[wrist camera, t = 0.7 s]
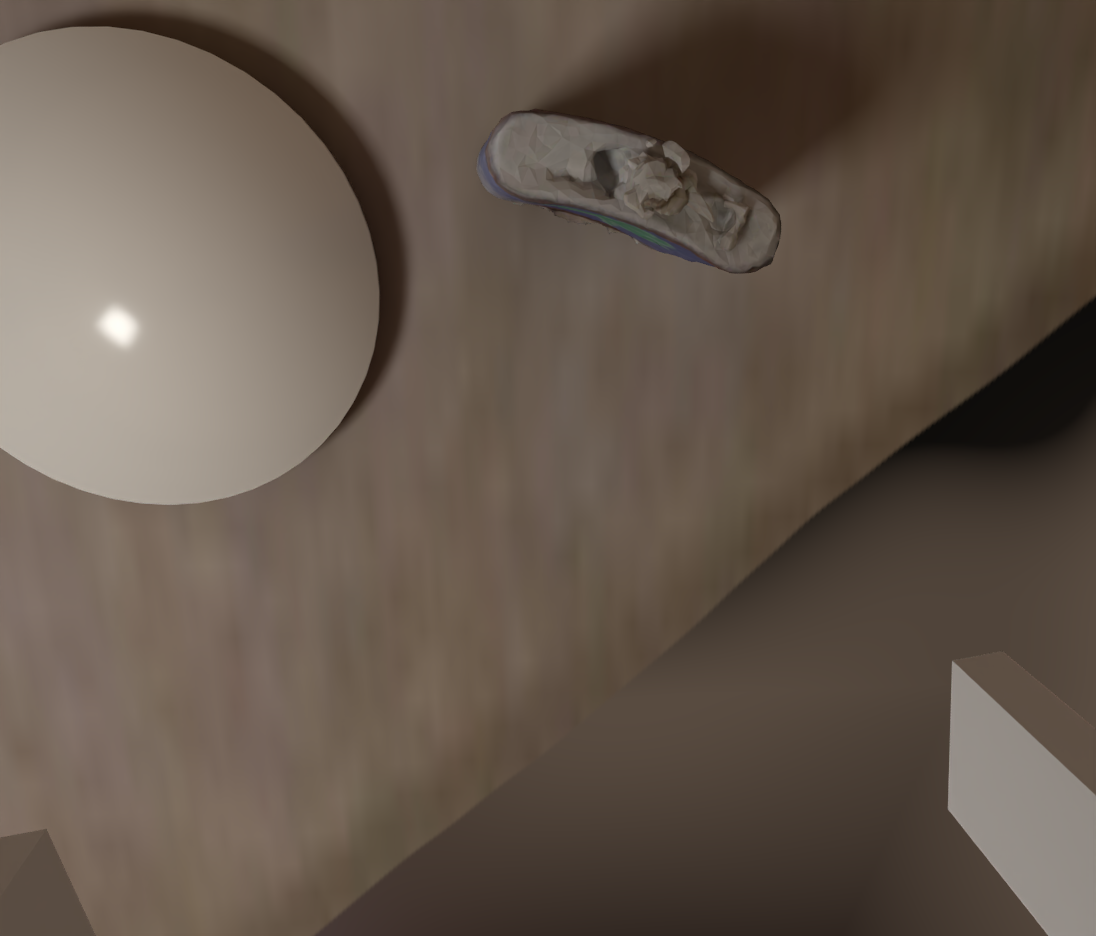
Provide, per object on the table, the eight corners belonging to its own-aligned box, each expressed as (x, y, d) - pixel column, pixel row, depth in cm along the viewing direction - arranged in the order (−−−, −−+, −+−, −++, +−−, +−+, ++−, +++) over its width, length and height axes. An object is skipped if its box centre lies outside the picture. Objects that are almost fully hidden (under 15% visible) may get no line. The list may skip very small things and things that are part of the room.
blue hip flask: (468, 189, 30) (477, 181, 20) (490, 110, 29) (511, 58, 19) (686, 265, 32) (797, 293, 21) (713, 193, 31) (841, 186, 21)
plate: (-136, 401, 30) (-159, 409, 28) (-38, -64, 25) (-61, -77, 24) (299, 549, 34) (294, 561, 32) (447, 167, 29) (446, 165, 28)
